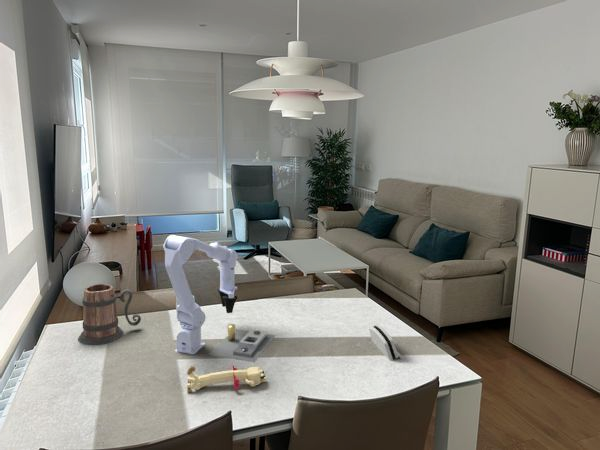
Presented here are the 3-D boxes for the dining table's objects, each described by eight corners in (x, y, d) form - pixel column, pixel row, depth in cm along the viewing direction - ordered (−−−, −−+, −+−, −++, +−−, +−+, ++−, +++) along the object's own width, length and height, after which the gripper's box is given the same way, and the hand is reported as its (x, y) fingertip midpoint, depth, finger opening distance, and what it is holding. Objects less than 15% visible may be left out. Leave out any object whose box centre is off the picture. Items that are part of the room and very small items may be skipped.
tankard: (79, 349, 167) (76, 297, 163) (76, 331, 181) (73, 284, 177) (145, 337, 178) (143, 288, 175) (137, 321, 193) (135, 277, 189)
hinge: (402, 359, 166) (395, 336, 164) (391, 364, 166) (384, 341, 163) (383, 339, 182) (377, 318, 180) (372, 344, 181) (366, 323, 179)
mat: (254, 363, 160) (254, 362, 160) (208, 355, 164) (208, 354, 164) (275, 336, 183) (275, 335, 182) (234, 330, 187) (234, 329, 187)
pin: (233, 342, 175) (233, 327, 174) (226, 341, 176) (226, 326, 175) (236, 338, 178) (236, 324, 177) (229, 337, 179) (229, 323, 178)
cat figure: (187, 401, 138) (268, 388, 143) (185, 375, 136) (266, 363, 141) (189, 384, 148) (264, 372, 152) (186, 359, 146) (262, 349, 151)
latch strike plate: (250, 357, 163) (250, 350, 163) (233, 354, 165) (233, 347, 164) (267, 337, 180) (267, 330, 180) (251, 334, 182) (251, 328, 182)
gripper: (241, 281, 177) (241, 314, 179) (232, 271, 190) (232, 302, 192) (224, 283, 174) (223, 316, 176) (216, 273, 187) (216, 304, 189)
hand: (227, 309), depth 184 cm, fingers open, 7 cm apart
